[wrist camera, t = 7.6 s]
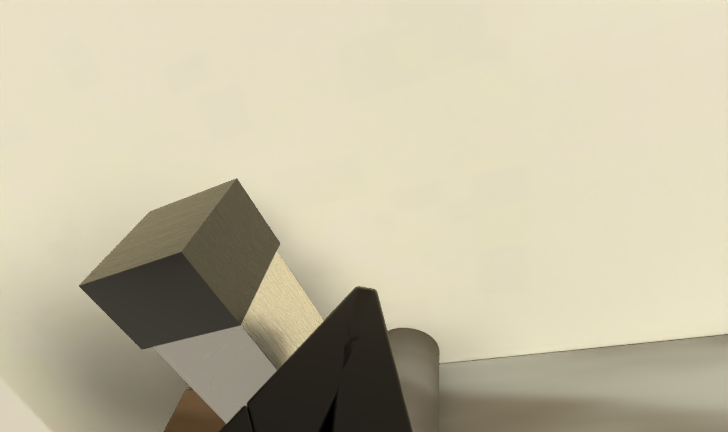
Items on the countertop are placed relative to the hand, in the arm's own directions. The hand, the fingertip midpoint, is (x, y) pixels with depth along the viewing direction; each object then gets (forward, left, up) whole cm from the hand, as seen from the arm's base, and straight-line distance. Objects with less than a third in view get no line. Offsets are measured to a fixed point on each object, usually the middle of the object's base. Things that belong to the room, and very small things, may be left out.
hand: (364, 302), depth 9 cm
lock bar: (-3, +2, 0) cm, 3 cm away
